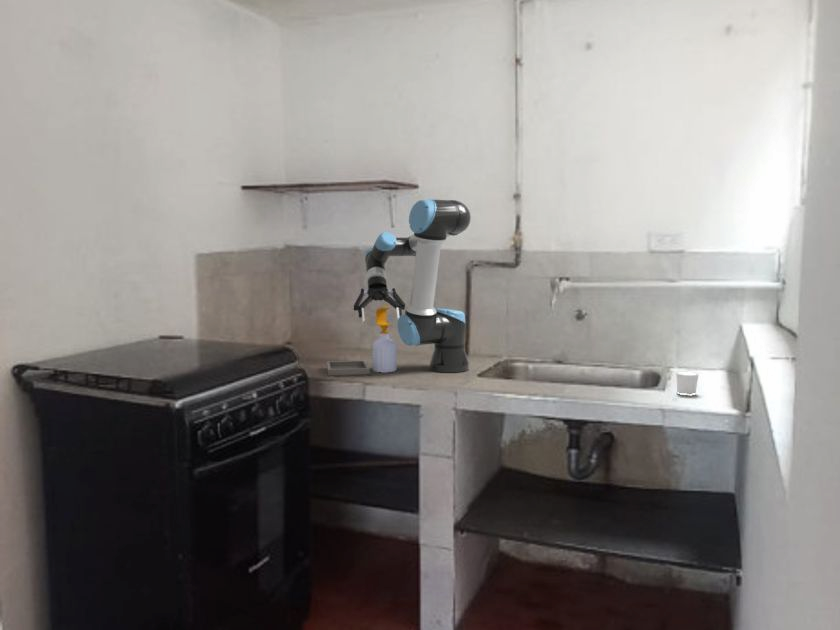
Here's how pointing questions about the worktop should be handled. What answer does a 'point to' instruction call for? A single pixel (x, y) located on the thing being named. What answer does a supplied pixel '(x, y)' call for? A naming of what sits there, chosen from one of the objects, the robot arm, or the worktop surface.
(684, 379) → the white cup
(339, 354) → the worktop surface
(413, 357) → the worktop surface
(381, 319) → the soap bottle
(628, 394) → the worktop surface
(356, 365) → the tray
